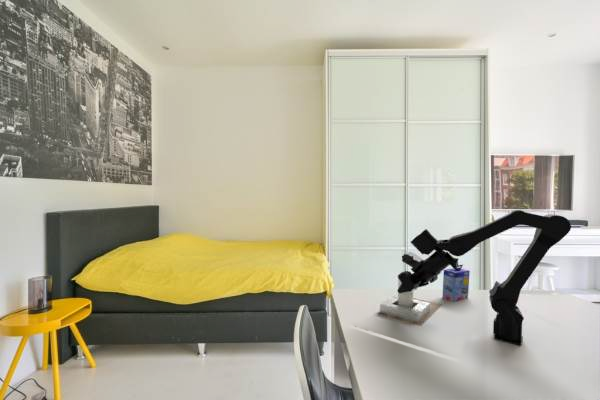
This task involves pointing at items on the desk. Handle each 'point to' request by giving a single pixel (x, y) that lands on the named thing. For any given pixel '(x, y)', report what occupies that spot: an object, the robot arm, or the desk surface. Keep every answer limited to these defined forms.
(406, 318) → the grey square frame
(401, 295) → the white bottle
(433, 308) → the mount board
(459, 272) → the ink cartridge box
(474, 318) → the desk surface
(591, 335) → the desk surface
